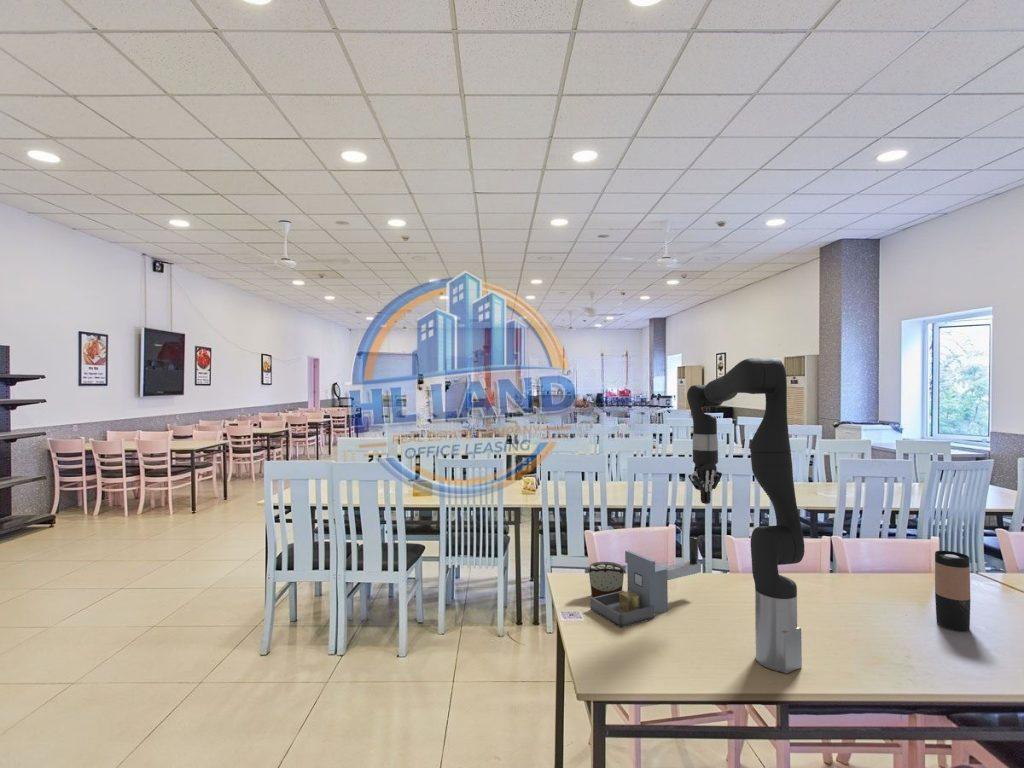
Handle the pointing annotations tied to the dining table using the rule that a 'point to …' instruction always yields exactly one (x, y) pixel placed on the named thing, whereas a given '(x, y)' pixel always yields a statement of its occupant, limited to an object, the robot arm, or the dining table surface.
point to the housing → (647, 582)
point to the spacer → (628, 601)
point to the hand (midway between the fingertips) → (705, 503)
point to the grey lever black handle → (681, 565)
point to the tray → (619, 610)
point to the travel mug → (952, 590)
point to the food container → (605, 578)
